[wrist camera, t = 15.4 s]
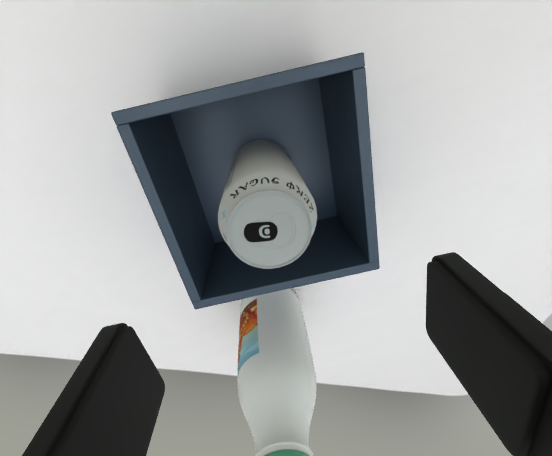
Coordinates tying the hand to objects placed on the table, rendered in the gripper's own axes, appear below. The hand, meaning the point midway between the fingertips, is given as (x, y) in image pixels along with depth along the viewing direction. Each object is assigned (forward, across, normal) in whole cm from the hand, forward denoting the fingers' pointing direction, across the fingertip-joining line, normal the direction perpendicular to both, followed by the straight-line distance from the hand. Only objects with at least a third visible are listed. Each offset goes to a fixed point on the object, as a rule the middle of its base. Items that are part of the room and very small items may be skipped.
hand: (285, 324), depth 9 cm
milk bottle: (+23, +4, +19) cm, 30 cm away
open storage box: (+24, 0, +1) cm, 24 cm away
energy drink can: (+23, 0, +1) cm, 23 cm away
